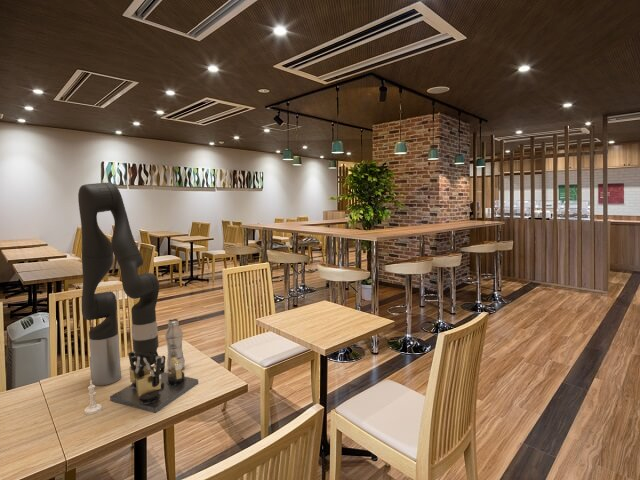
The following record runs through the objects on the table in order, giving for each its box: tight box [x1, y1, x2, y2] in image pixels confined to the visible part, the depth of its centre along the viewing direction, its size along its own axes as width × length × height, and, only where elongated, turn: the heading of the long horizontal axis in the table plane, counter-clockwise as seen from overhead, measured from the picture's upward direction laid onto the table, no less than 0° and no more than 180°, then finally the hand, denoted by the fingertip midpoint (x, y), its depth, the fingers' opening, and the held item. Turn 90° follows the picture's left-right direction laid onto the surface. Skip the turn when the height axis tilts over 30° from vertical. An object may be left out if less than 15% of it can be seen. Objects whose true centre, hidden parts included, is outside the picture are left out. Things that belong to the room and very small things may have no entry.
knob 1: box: [128, 363, 151, 387], centre depth 132 cm, size 7×6×8 cm
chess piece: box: [84, 379, 103, 416], centre depth 118 cm, size 5×5×10 cm
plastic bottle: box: [164, 318, 185, 371], centre depth 145 cm, size 6×7×20 cm
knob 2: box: [136, 373, 161, 402], centre depth 122 cm, size 7×6×8 cm
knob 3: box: [168, 357, 186, 384], centre depth 133 cm, size 7×6×8 cm
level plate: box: [109, 371, 199, 413], centre depth 129 cm, size 20×20×3 cm
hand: (148, 384), depth 122 cm, fingers open, 5 cm apart
